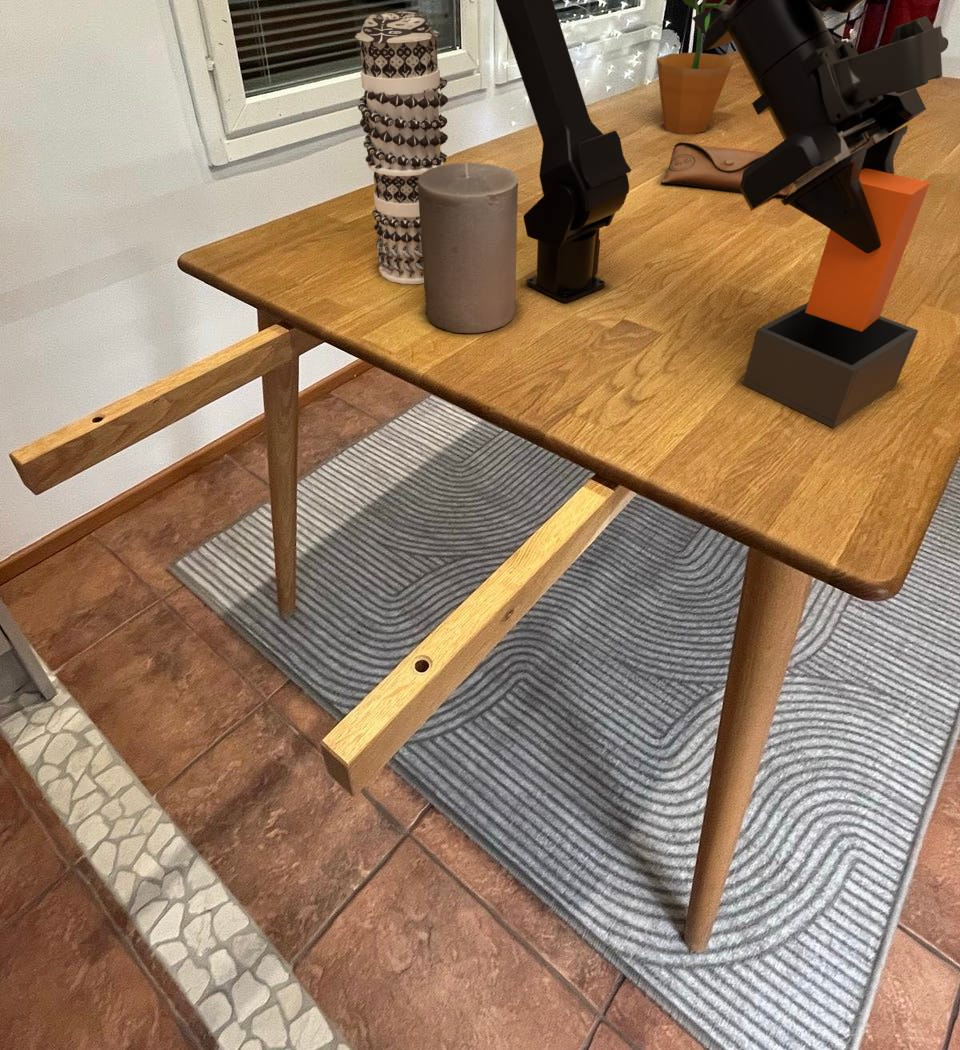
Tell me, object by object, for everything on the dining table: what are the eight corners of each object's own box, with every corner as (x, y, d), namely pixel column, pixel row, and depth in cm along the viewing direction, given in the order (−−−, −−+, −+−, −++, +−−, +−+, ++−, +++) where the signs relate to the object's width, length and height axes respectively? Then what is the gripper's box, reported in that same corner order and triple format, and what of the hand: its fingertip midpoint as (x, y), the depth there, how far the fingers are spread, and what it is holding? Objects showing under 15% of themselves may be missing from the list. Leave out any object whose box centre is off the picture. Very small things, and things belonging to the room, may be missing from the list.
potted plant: (747, 144, 122) (797, -95, 102) (630, 141, 124) (656, -94, 104) (737, 114, 135) (779, -103, 114) (631, 112, 137) (654, -102, 117)
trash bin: (833, 428, 64) (854, 370, 60) (742, 384, 69) (756, 328, 65) (895, 386, 68) (918, 330, 64) (806, 348, 74) (822, 294, 70)
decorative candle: (468, 273, 87) (462, 17, 70) (396, 292, 84) (371, 27, 67) (433, 247, 93) (418, 4, 76) (364, 263, 90) (333, 13, 73)
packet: (861, 332, 62) (911, 194, 54) (804, 312, 64) (845, 178, 57) (879, 317, 64) (930, 182, 56) (823, 299, 66) (865, 167, 59)
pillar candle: (407, 313, 80) (393, 164, 70) (472, 284, 85) (468, 141, 75) (470, 344, 75) (465, 188, 65) (536, 311, 80) (541, 162, 70)
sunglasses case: (658, 182, 108) (669, 131, 106) (663, 194, 114) (673, 147, 113) (789, 196, 103) (803, 144, 101) (786, 208, 109) (799, 159, 108)
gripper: (829, -10, 45) (943, 222, 47) (946, -40, 55) (1038, 153, 57) (693, 111, 55) (793, 300, 57) (814, 67, 64) (896, 229, 66)
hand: (884, 243), depth 59 cm, fingers closed on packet, 3 cm apart
